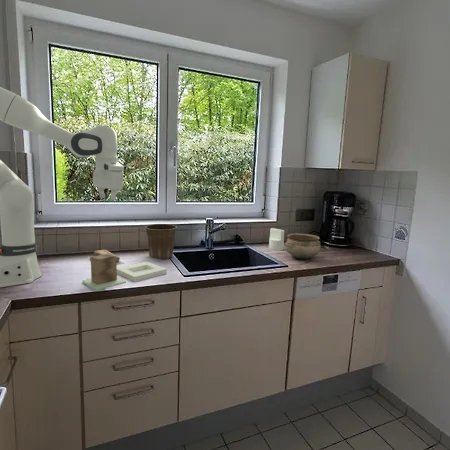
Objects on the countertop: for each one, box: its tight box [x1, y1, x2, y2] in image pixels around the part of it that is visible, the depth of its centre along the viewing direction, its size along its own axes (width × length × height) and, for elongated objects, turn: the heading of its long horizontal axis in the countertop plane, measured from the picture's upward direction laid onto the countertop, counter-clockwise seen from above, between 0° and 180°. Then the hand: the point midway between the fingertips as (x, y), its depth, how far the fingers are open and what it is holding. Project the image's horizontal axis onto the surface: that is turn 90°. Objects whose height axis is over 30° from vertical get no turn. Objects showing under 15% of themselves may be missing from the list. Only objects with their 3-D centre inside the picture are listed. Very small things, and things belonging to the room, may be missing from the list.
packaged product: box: [89, 249, 124, 266], centre depth 154 cm, size 18×5×10 cm
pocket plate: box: [117, 261, 167, 282], centre depth 138 cm, size 16×15×2 cm
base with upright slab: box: [268, 227, 285, 251], centre depth 195 cm, size 9×9×12 cm
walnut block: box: [90, 253, 118, 285], centre depth 125 cm, size 8×5×10 cm, turn 138°
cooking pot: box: [284, 232, 321, 261], centre depth 174 cm, size 25×19×12 cm
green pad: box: [81, 276, 127, 292], centre depth 125 cm, size 12×12×1 cm
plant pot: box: [144, 223, 178, 260], centre depth 166 cm, size 16×16×16 cm
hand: (107, 198), depth 135 cm, fingers open, 8 cm apart
